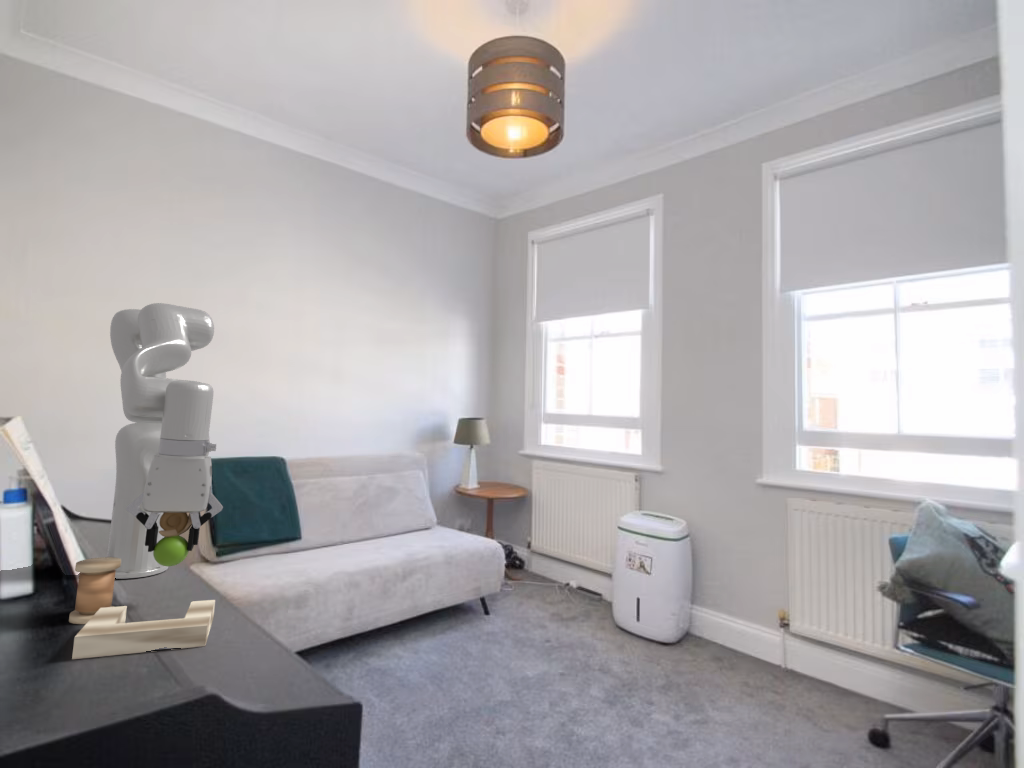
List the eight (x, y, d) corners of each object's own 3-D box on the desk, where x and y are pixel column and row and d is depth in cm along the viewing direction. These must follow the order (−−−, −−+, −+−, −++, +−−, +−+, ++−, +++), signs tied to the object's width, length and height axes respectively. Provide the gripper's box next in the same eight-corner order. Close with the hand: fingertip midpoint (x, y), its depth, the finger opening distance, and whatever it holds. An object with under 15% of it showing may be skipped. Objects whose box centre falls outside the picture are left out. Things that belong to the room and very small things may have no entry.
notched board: (98, 627, 84) (100, 607, 84) (213, 617, 90) (215, 599, 90) (71, 659, 73) (74, 636, 73) (205, 646, 79) (207, 625, 79)
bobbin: (75, 612, 89) (82, 558, 90) (119, 609, 91) (125, 556, 92) (63, 625, 83) (70, 567, 84) (109, 622, 86) (116, 565, 87)
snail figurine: (198, 565, 97) (206, 499, 97) (159, 572, 92) (168, 502, 92) (184, 558, 100) (192, 494, 101) (145, 564, 95) (155, 497, 95)
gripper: (237, 449, 104) (226, 543, 103) (132, 444, 97) (119, 545, 96) (234, 453, 97) (223, 553, 96) (121, 448, 90) (107, 556, 89)
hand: (171, 548), depth 96 cm, fingers closed on snail figurine, 5 cm apart
